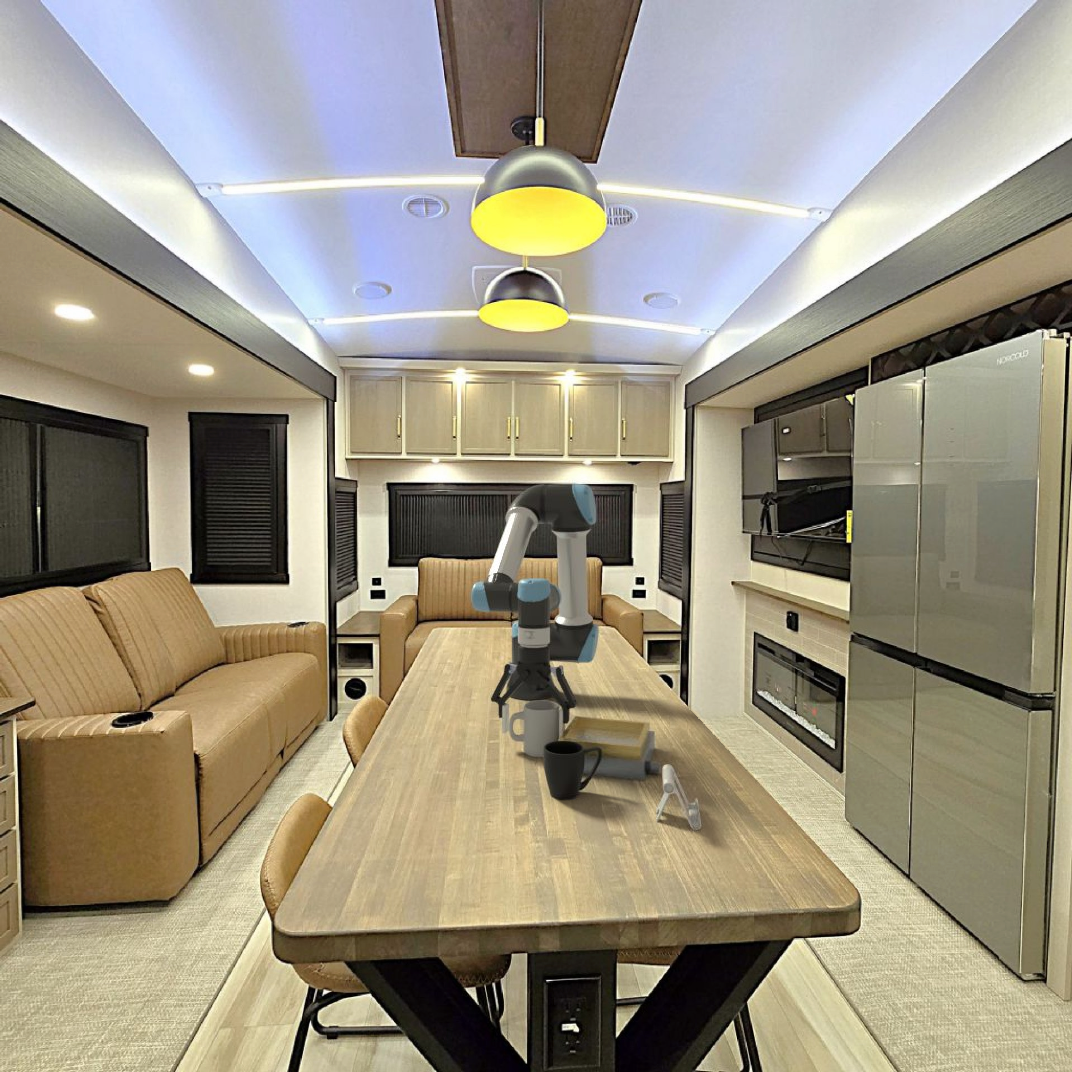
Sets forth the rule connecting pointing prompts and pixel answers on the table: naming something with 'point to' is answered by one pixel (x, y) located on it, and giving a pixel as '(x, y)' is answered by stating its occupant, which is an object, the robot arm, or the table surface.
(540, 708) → the mug
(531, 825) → the table surface
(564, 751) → the mug
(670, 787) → the portable electronic device stand
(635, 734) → the yellow and grey tray
